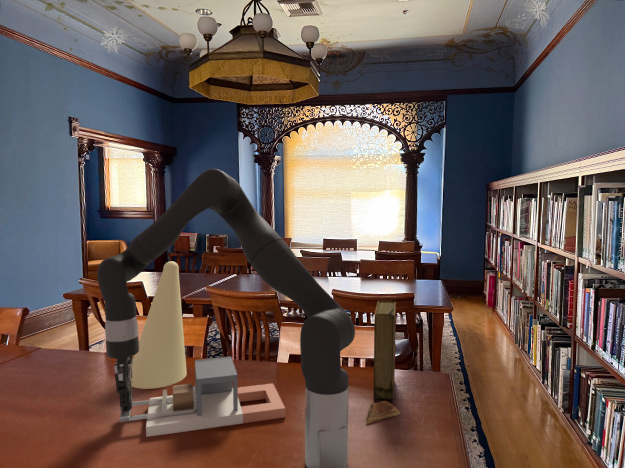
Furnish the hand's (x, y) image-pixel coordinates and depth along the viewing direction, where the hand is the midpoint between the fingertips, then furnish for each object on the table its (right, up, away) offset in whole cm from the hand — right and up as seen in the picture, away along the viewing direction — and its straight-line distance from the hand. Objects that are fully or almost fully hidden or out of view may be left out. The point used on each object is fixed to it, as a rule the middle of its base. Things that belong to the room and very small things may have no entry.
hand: (125, 402), depth 114 cm
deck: (+21, -5, +7) cm, 23 cm away
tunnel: (+21, -3, +7) cm, 22 cm away
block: (+13, -3, +4) cm, 14 cm away
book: (+68, -4, +21) cm, 71 cm away
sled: (+8, -3, +2) cm, 8 cm away
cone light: (-2, -3, +33) cm, 33 cm away
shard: (+66, -6, +5) cm, 66 cm away
